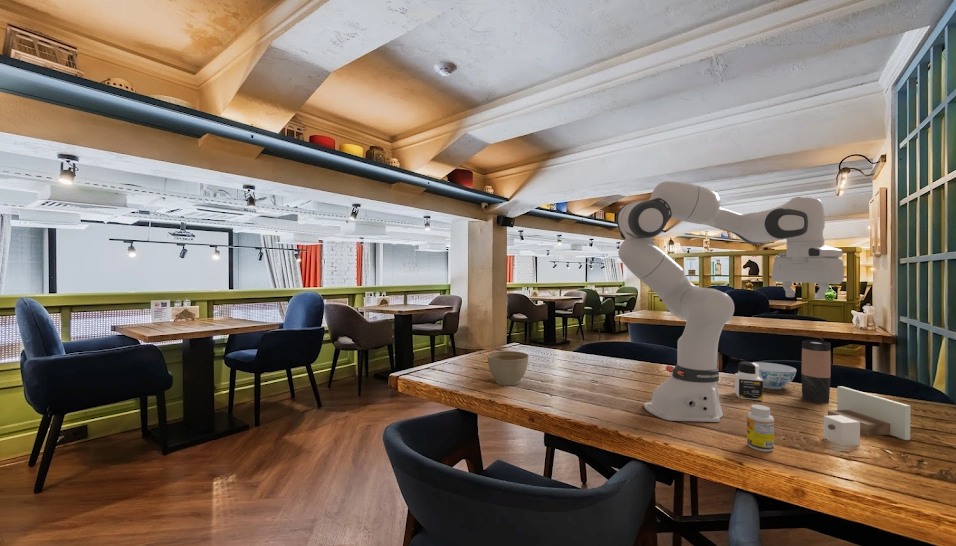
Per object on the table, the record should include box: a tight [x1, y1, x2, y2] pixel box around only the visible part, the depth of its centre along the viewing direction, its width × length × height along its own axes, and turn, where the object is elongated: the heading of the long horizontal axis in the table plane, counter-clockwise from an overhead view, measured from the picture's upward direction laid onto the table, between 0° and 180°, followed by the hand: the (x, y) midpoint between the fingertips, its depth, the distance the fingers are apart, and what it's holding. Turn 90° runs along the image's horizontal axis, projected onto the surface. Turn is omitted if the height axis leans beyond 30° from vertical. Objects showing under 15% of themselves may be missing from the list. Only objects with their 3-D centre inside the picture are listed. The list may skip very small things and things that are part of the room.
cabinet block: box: [822, 415, 861, 447], centre depth 106 cm, size 6×5×6 cm
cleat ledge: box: [827, 409, 891, 437], centre depth 115 cm, size 7×11×3 cm, turn 7°
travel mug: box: [801, 339, 831, 404], centre depth 139 cm, size 8×8×20 cm
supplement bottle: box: [746, 404, 775, 452], centre depth 102 cm, size 6×6×10 cm
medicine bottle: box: [734, 361, 764, 401], centre depth 143 cm, size 7×7×12 cm
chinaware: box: [753, 361, 797, 390], centre depth 155 cm, size 15×15×8 cm
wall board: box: [836, 385, 912, 441], centre depth 116 cm, size 2×18×9 cm, turn 7°
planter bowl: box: [486, 350, 530, 387], centre depth 159 cm, size 16×16×11 cm
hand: (804, 298), depth 122 cm, fingers open, 8 cm apart
